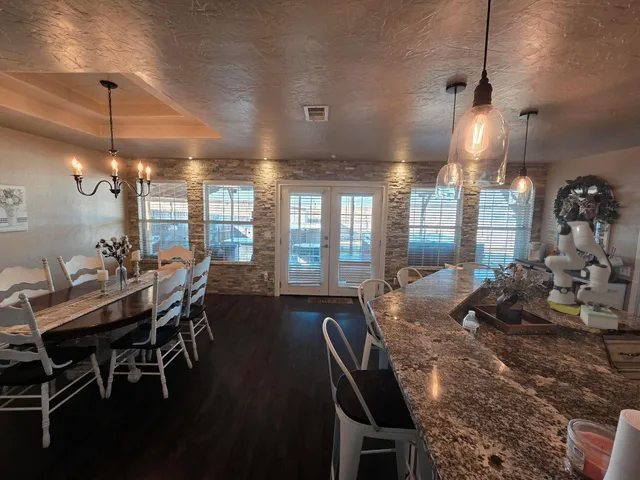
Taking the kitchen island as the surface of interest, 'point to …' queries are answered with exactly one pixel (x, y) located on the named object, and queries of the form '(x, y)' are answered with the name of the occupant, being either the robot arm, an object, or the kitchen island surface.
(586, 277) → the robot arm
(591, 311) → the green lid
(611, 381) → the kitchen island surface
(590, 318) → the white open box
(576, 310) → the plastic component
